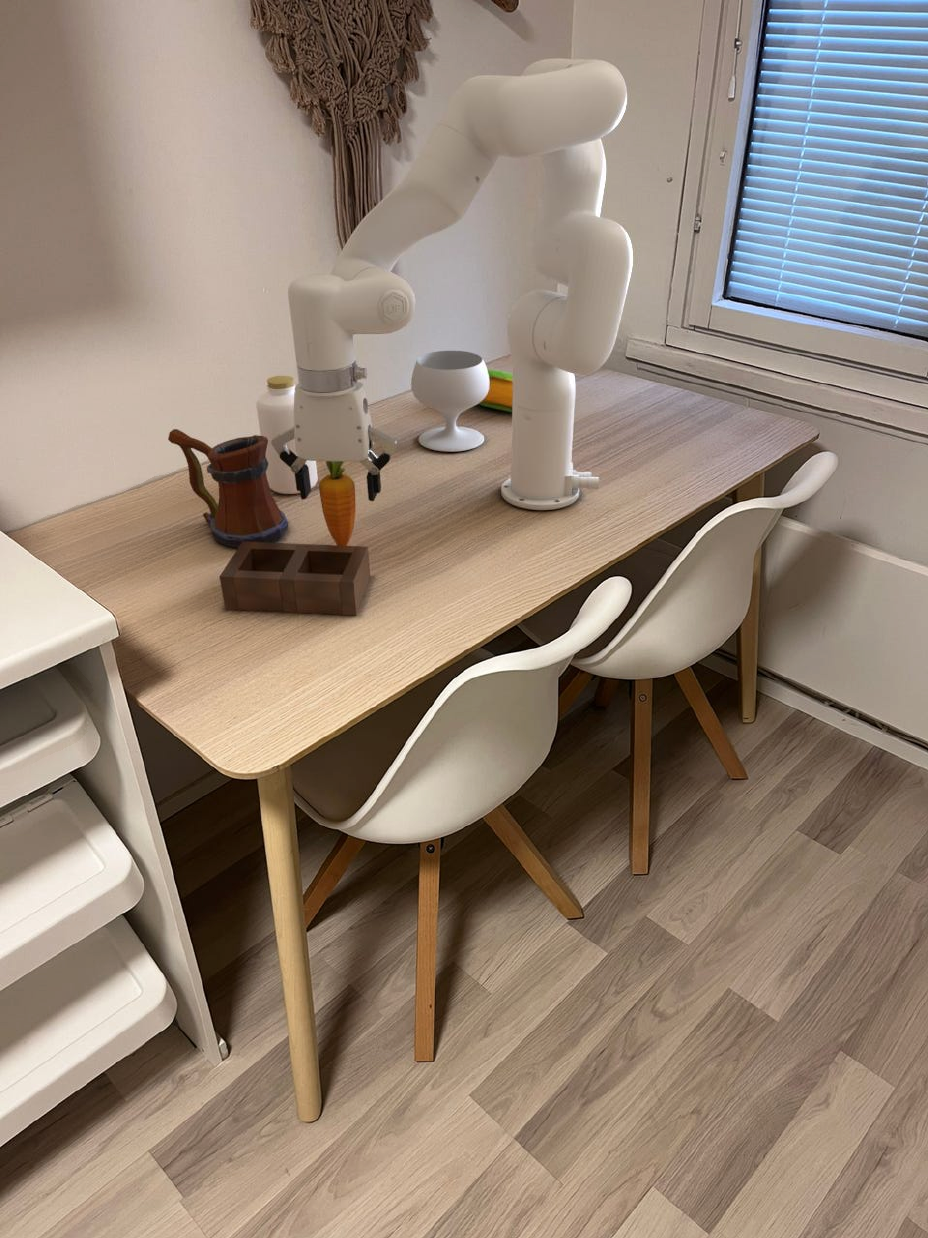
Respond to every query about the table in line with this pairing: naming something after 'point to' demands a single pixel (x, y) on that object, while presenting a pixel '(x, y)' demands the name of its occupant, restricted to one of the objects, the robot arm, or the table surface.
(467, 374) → the chalice
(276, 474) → the white bottle
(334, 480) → the carrot
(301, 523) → the table surface
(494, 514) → the table surface
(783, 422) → the table surface
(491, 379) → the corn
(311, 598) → the holder
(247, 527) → the mug
